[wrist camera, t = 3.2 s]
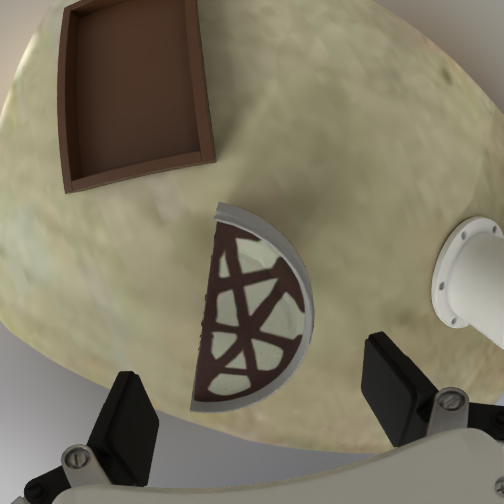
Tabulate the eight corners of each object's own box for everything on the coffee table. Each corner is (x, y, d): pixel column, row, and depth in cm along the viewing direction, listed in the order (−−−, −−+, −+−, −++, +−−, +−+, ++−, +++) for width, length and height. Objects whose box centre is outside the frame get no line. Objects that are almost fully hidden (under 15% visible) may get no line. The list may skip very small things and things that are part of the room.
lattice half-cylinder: (270, 344, 25) (288, 426, 16) (201, 335, 25) (189, 417, 15) (302, 207, 22) (352, 231, 13) (223, 192, 22) (216, 206, 12)
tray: (195, -17, 17) (191, -33, 14) (216, 162, 21) (214, 160, 18) (76, 19, 16) (64, 7, 14) (81, 191, 21) (64, 193, 18)
